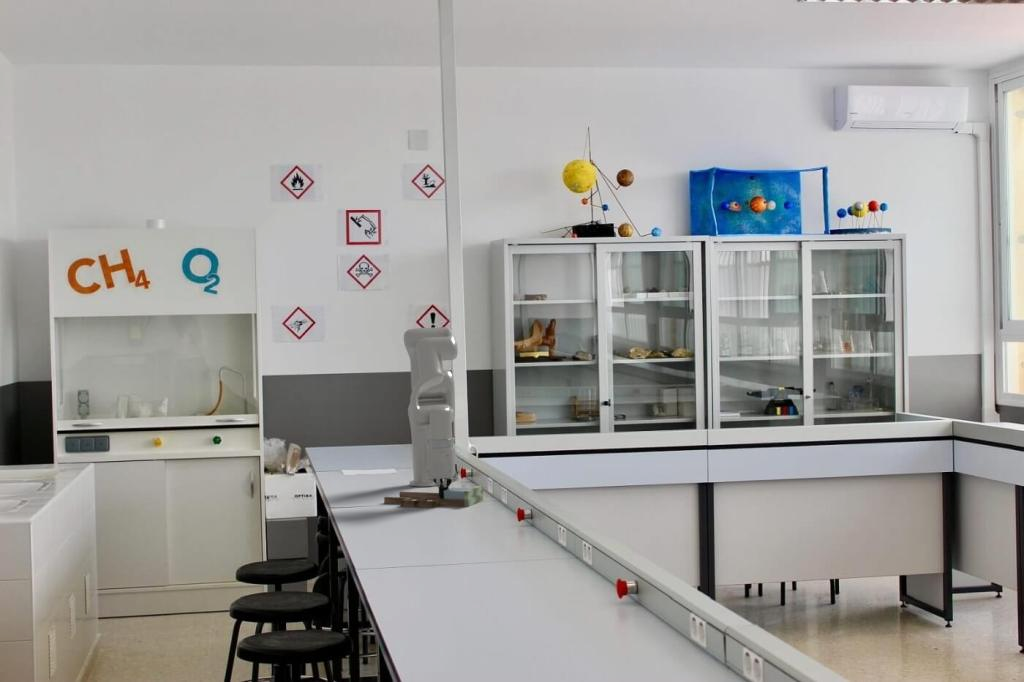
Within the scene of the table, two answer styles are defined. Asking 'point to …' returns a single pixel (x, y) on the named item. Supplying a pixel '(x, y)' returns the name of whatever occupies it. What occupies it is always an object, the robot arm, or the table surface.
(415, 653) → the table surface
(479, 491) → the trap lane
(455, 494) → the slate block
